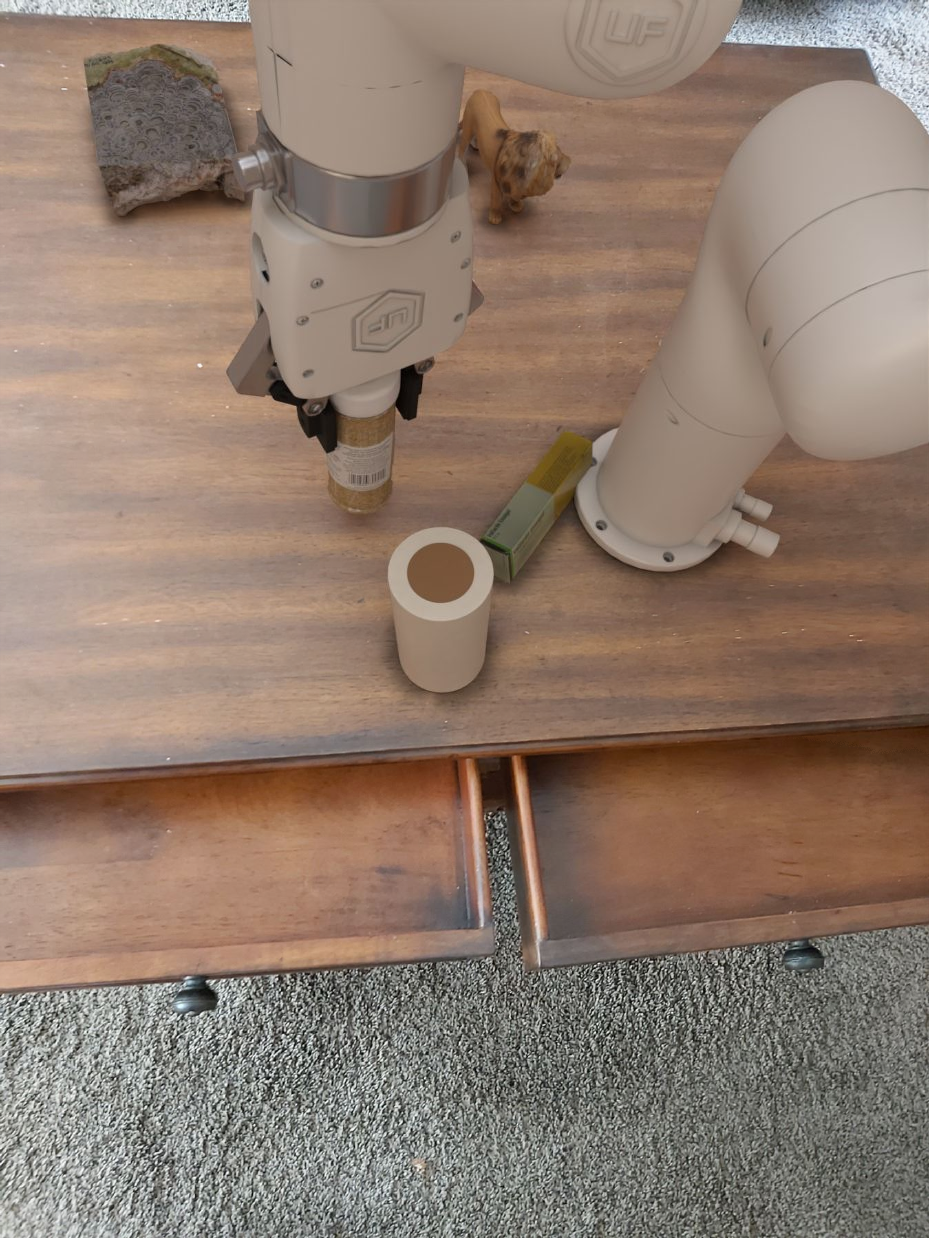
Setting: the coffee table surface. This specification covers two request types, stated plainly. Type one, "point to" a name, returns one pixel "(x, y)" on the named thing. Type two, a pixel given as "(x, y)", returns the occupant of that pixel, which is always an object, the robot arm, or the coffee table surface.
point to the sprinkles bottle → (364, 445)
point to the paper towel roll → (441, 606)
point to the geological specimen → (159, 125)
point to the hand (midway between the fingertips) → (360, 415)
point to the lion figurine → (509, 154)
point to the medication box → (537, 505)
